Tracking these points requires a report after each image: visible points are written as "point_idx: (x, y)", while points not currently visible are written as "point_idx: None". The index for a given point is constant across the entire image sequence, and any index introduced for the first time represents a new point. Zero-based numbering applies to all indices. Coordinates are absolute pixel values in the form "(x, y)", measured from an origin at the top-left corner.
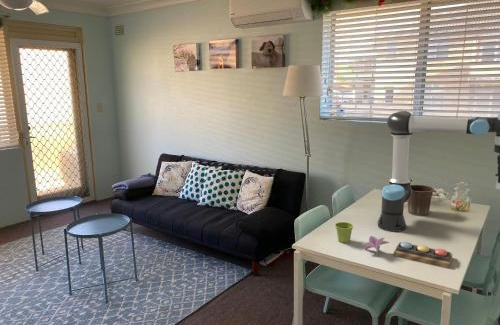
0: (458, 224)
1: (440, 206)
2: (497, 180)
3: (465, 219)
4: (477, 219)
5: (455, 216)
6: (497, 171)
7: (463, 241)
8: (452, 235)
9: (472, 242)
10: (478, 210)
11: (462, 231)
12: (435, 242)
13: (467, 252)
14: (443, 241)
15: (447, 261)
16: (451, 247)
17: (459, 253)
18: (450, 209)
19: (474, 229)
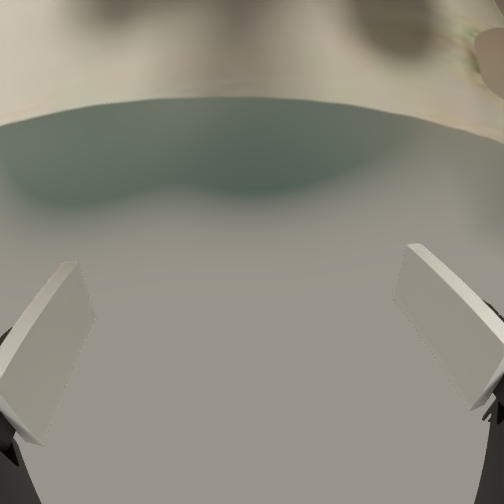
0: (316, 28)
1: (485, 4)
2: (18, 340)
3: (397, 59)
4: (417, 105)
5: (413, 28)
6: (497, 341)
7: (105, 73)
8: (151, 23)
9: (113, 102)
10: (501, 124)
11: (227, 46)
12: (51, 9)
13: (21, 116)
14: (71, 22)
15: None
16: (33, 63)
17: (4, 100)
18: (475, 29)
19: (283, 87)
